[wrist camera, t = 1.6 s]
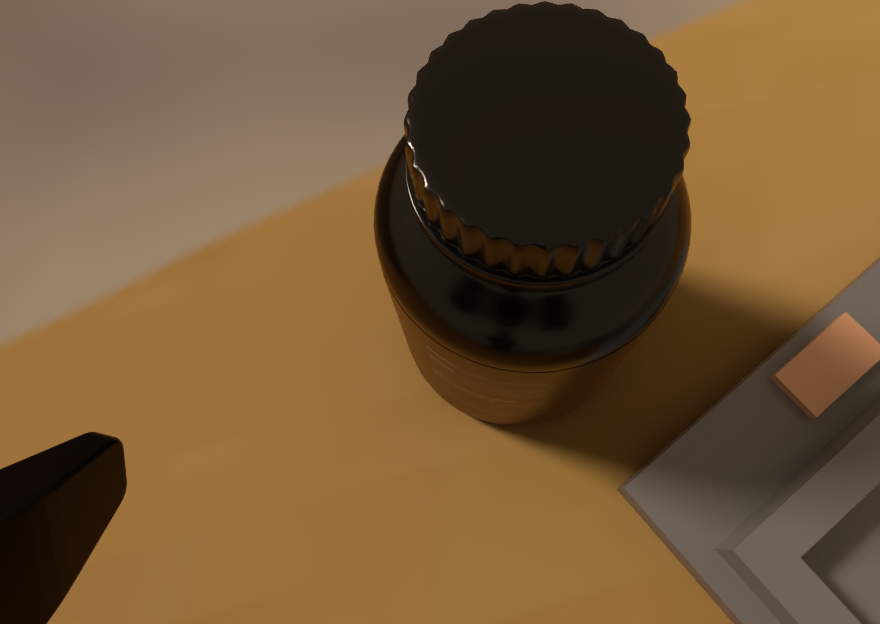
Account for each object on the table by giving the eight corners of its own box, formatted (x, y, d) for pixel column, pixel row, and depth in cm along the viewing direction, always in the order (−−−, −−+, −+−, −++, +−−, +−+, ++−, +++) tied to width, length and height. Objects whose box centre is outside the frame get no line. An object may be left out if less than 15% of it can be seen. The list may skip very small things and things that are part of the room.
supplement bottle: (663, 332, 23) (854, 138, 11) (503, 474, 22) (535, 417, 10) (518, 186, 25) (558, -112, 13) (363, 311, 24) (258, 108, 12)
